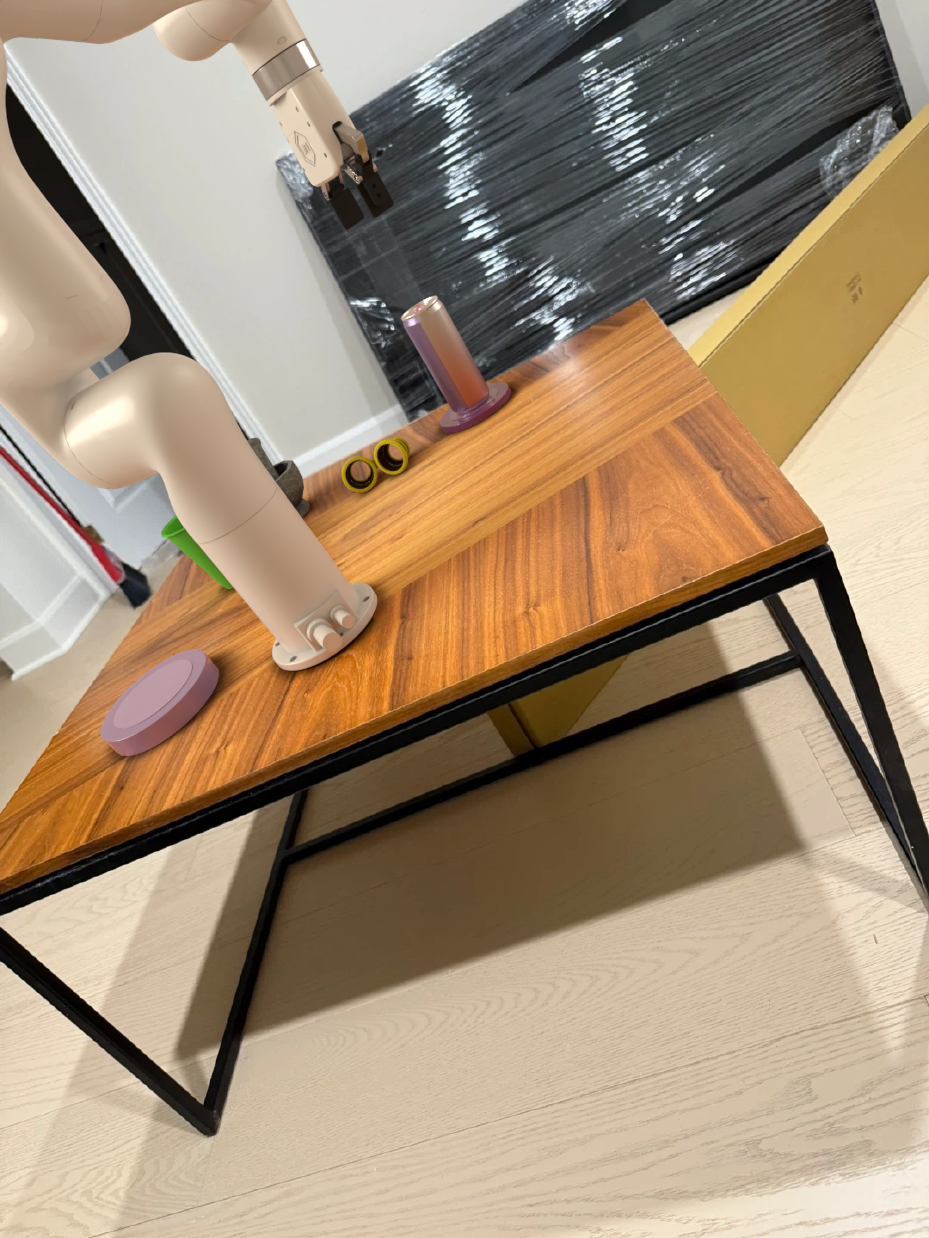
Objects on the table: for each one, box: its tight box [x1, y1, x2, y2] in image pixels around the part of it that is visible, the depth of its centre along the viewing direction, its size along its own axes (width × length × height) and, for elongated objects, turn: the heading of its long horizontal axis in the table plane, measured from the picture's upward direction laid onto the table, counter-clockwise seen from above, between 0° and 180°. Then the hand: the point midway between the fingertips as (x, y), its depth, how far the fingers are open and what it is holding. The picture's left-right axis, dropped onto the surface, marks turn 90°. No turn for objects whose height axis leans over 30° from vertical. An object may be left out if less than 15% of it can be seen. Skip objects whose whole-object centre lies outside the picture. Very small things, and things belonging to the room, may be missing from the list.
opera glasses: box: [341, 436, 411, 494], centre depth 115 cm, size 10×5×5 cm, turn 93°
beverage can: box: [400, 295, 489, 414], centre depth 114 cm, size 6×6×15 cm
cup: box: [160, 515, 234, 590], centre depth 112 cm, size 9×9×11 cm
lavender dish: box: [99, 648, 220, 757], centre depth 93 cm, size 14×14×2 cm
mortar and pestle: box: [246, 437, 310, 518], centre depth 121 cm, size 11×9×12 cm
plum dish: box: [439, 381, 512, 434], centre depth 118 cm, size 11×11×1 cm
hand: (369, 218), depth 105 cm, fingers open, 9 cm apart
